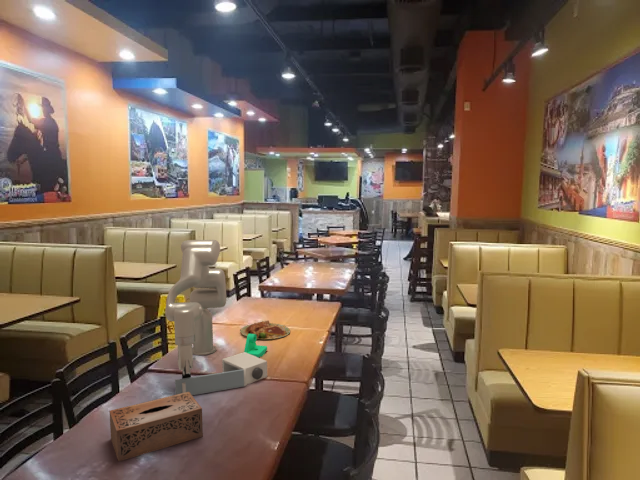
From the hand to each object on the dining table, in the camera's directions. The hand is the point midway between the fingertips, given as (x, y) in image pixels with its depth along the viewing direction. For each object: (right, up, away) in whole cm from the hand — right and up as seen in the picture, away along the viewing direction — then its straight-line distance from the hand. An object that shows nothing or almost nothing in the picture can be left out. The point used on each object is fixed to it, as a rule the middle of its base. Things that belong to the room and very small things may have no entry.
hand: (186, 383), depth 180 cm
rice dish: (+22, +4, +76) cm, 79 cm away
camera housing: (+20, -2, +17) cm, 27 cm away
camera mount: (+22, 0, +43) cm, 48 cm away
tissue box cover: (0, -8, -32) cm, 33 cm away
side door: (+10, -4, +1) cm, 11 cm away
